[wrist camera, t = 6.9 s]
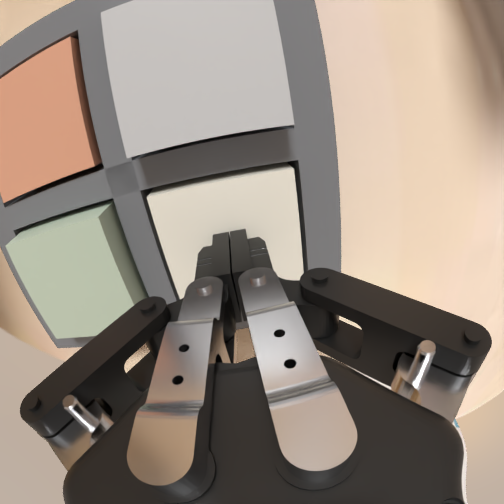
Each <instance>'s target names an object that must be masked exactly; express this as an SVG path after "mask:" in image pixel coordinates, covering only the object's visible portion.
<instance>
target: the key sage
mask: <svg viewBox="0 0 504 504" xmlns="http://www.w3.org/2000/svg"><path fill="white" fill-rule="evenodd" d="M6 249H7V251H8V253H9V255H10V257H11V260H12V262H13V264H14V266H15V268H16V270H17V272H18V274H19V276H20V278H21V280H22V282H23V284H24V286H25V288H26V289H27V291H28V293H29V295H30V297H31V299H32V300H33V302H34V304H35V306H36V307H37V309H38V311H39V312H40V314H41V316H42V317H43V319H44V320H45V322H46V324H47V325H48V327H49V328H50V330H51V331H52V333H53V334H54V336H55V337H56V339H61V338H76V337H89V336H97V335H98V334H99V333H100V332H102V331H103V330H104V329H105V328H107V327H108V326H109V325H110V324H111V323H113V322H114V321H115V320H116V319H118V318H119V317H120V316H121V315H123V314H124V313H125V312H126V311H128V310H129V309H130V308H131V307H133V306H134V305H135V304H136V303H138V302H139V301H141V300H142V299H145V298H147V297H149V295H148V293H147V290H146V288H145V286H144V283H143V281H142V278H141V276H140V273H139V271H138V268H137V266H136V263H135V260H134V258H133V255H132V252H131V250H130V247H129V244H128V242H127V239H126V236H125V233H124V230H123V227H122V224H121V221H120V219H119V216H118V212H117V209H116V206H115V203H114V200H109V201H106V202H102V203H99V204H95V205H92V206H88V207H85V208H82V209H78V210H75V211H72V212H69V213H66V214H63V215H60V216H57V217H54V218H51V219H48V220H45V221H42V222H39V223H36V224H33V225H30V226H28V227H26V228H25V229H24V230H23V231H22V232H20V233H19V234H18V235H17V236H16V237H15V238H13V239H12V240H11V241H10V242H9V243H8V244H7V245H6Z"/></svg>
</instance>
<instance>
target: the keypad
mask: <svg viewBox="0 0 504 504" xmlns="http://www.w3.org/2000/svg"><path fill="white" fill-rule="evenodd" d="M130 1H133V0H75V1H73V2H71V3H69V4H67V5H65V6H63V7H61V8H59V9H58V10H56V11H54V12H52V13H50V14H49V15H47V16H45V17H43V18H42V19H40V20H38V21H37V22H35V23H34V24H32V25H30V26H29V27H27V28H26V29H24V30H23V31H21V32H20V33H18V34H17V35H15V36H14V37H13V38H11V39H10V40H8V41H7V42H6V43H4V44H3V45H2V46H0V79H1V78H2V77H4V76H5V75H7V74H8V73H9V72H11V71H12V70H14V69H15V68H17V67H18V66H20V65H21V64H23V63H24V62H26V61H28V60H29V59H31V58H32V57H34V56H36V55H37V54H39V53H41V52H42V51H44V50H46V49H48V48H49V47H51V46H53V45H55V44H57V43H59V42H61V41H63V40H64V39H66V38H68V37H73V38H76V39H79V44H80V52H81V60H82V67H83V73H84V80H85V85H86V91H87V97H88V102H89V107H90V112H91V116H92V121H93V126H94V130H95V134H96V139H97V143H98V147H99V151H100V155H101V158H102V162H101V163H99V164H98V165H96V166H93V167H91V168H88V169H85V170H82V171H79V172H76V173H74V174H71V175H68V176H66V177H63V178H60V179H58V180H55V181H53V182H50V183H48V184H45V185H43V186H41V187H38V188H36V189H33V190H31V191H29V192H27V193H24V194H22V195H20V196H18V197H15V198H13V199H11V200H9V201H7V202H5V203H3V200H2V197H1V194H0V247H1V249H2V251H3V254H4V256H5V258H6V260H7V262H8V264H9V267H10V269H11V271H12V273H13V275H14V277H15V279H16V280H17V282H18V284H19V286H20V288H21V290H22V292H23V294H24V295H25V297H26V299H27V301H28V302H29V304H30V306H31V308H32V309H33V311H34V313H35V314H36V316H37V318H38V319H39V321H40V322H41V324H42V325H43V327H44V329H45V330H46V332H47V333H48V335H49V336H50V338H51V339H52V341H53V342H54V344H55V345H56V346H57V348H71V347H83V346H85V345H86V344H87V343H88V342H89V341H91V340H92V339H93V338H94V337H96V336H89V337H76V338H61V339H56V337H55V336H54V334H53V333H52V331H51V330H50V328H49V327H48V325H47V324H46V322H45V320H44V319H43V317H42V316H41V314H40V312H39V311H38V309H37V307H36V306H35V304H34V302H33V300H32V299H31V297H30V295H29V293H28V291H27V289H26V288H25V286H24V284H23V282H22V280H21V278H20V276H19V274H18V272H17V270H16V268H15V266H14V264H13V262H12V260H11V257H10V255H9V253H8V251H7V249H6V245H7V244H8V243H9V242H10V241H11V240H12V239H13V238H15V237H16V236H17V235H18V234H19V233H20V232H22V231H23V230H24V229H25V228H26V227H28V226H30V225H33V224H36V223H39V222H42V221H45V220H48V219H51V218H54V217H57V216H60V215H63V214H66V213H69V212H72V211H75V210H78V209H82V208H85V207H88V206H92V205H95V204H99V203H102V202H106V201H109V200H114V203H115V206H116V209H117V212H118V216H119V219H120V221H121V224H122V227H123V230H124V233H125V236H126V239H127V242H128V244H129V247H130V250H131V252H132V255H133V258H134V260H135V263H136V266H137V268H138V271H139V273H140V276H141V278H142V281H143V283H144V286H145V288H146V290H147V293H148V295H149V297H152V296H158V297H162V298H163V299H165V301H166V303H167V304H170V303H173V302H175V301H178V300H180V298H179V295H178V293H177V290H176V287H175V284H174V281H173V279H172V276H171V273H170V270H169V267H168V264H167V261H166V258H165V255H164V252H163V249H162V246H161V243H160V240H159V237H158V234H157V230H156V227H155V224H154V221H153V217H152V214H151V211H150V207H149V204H148V200H147V196H148V195H149V194H150V192H151V191H152V190H153V188H154V187H157V186H161V185H165V184H170V183H174V182H178V181H183V180H187V179H192V178H197V177H201V176H206V175H211V174H216V173H222V172H227V171H232V170H238V169H243V168H249V167H255V166H261V165H267V164H274V163H280V162H287V163H288V164H289V165H290V166H291V167H292V168H293V169H294V174H295V183H296V192H297V202H298V212H299V222H300V233H301V245H302V257H303V271H304V272H306V271H308V270H310V269H314V268H329V269H332V270H335V271H337V272H340V273H341V218H340V192H339V174H338V159H337V146H336V135H335V125H334V115H333V107H332V98H331V91H330V83H329V76H328V70H327V63H326V57H325V51H324V45H323V40H322V34H321V29H320V24H319V19H318V14H317V10H316V5H315V1H314V0H273V2H274V6H275V11H276V16H277V21H278V26H279V32H280V37H281V42H282V48H283V54H284V59H285V65H286V71H287V78H288V84H289V90H290V97H291V104H292V111H293V118H294V125H288V126H280V127H272V128H265V129H258V130H252V131H246V132H240V133H234V134H228V135H223V136H218V137H213V138H208V139H203V140H198V141H193V142H189V143H184V144H180V145H176V146H172V147H168V148H164V149H160V150H156V151H152V152H148V153H145V154H141V155H137V156H134V157H130V158H127V157H126V153H125V149H124V145H123V141H122V136H121V132H120V128H119V123H118V119H117V114H116V109H115V104H114V99H113V94H112V89H111V83H110V78H109V72H108V66H107V59H106V52H105V45H104V38H103V30H102V21H101V12H103V11H106V10H108V9H111V8H113V7H116V6H119V5H121V4H124V3H127V2H130ZM241 316H242V312H241ZM243 328H249V327H248V322H247V321H243V316H242V322H239V323H236V330H237V329H243Z"/></svg>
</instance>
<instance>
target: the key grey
mask: <svg viewBox="0 0 504 504" xmlns="http://www.w3.org/2000/svg"><path fill="white" fill-rule="evenodd" d="M101 21H102V30H103V38H104V45H105V52H106V59H107V66H108V72H109V78H110V83H111V89H112V94H113V99H114V104H115V109H116V114H117V119H118V123H119V128H120V132H121V136H122V141H123V145H124V149H125V153H126V157H127V158H130V157H134V156H137V155H141V154H145V153H148V152H152V151H156V150H160V149H164V148H168V147H172V146H176V145H180V144H184V143H189V142H193V141H198V140H203V139H208V138H213V137H218V136H223V135H228V134H234V133H240V132H246V131H252V130H258V129H265V128H272V127H280V126H288V125H294V118H293V111H292V104H291V97H290V90H289V84H288V78H287V71H286V65H285V59H284V54H283V48H282V42H281V37H280V32H279V26H278V21H277V16H276V11H275V6H274V2H273V0H133V1H130V2H127V3H124V4H121V5H119V6H116V7H113V8H111V9H108V10H106V11H103V12H101Z"/></svg>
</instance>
